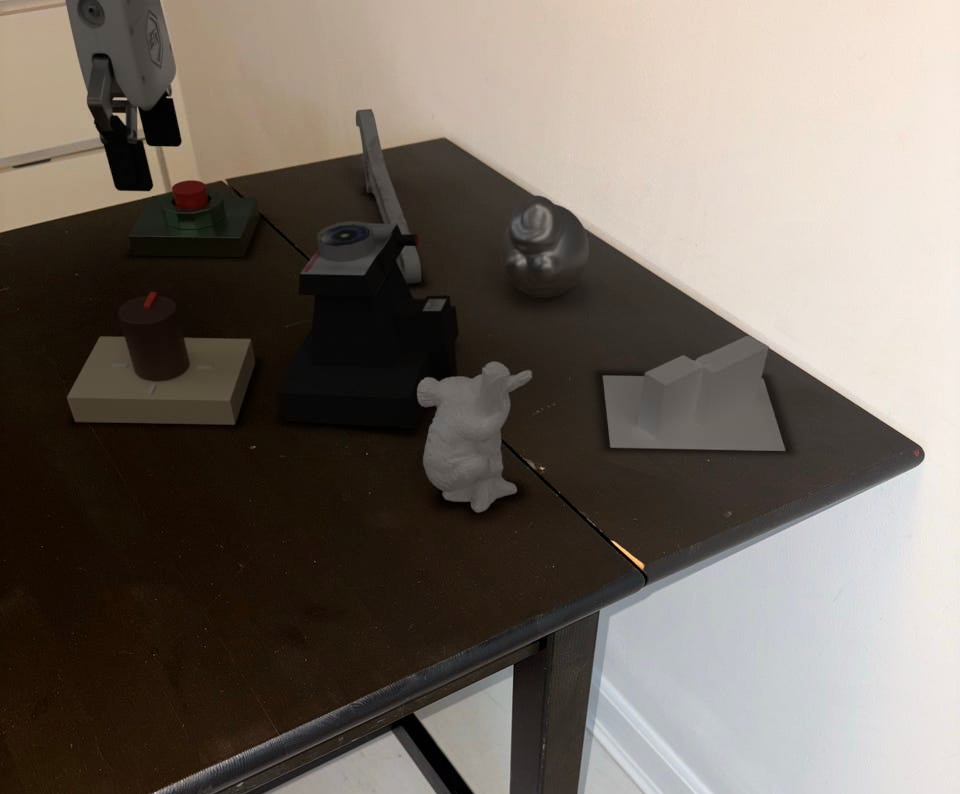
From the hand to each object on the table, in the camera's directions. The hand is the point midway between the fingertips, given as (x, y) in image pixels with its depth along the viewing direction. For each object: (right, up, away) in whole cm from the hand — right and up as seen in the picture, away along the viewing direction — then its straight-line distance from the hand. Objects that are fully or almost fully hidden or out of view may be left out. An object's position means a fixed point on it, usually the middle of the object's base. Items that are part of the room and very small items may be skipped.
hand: (150, 166), depth 88 cm
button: (-2, +5, +20) cm, 21 cm away
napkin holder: (+48, -22, 0) cm, 53 cm away
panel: (+1, -20, +1) cm, 20 cm away
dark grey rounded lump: (+36, -7, +14) cm, 39 cm away
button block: (-2, +3, +22) cm, 23 cm away
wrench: (+19, +5, +24) cm, 31 cm away
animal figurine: (+29, -31, -8) cm, 43 cm away
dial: (+1, -18, -1) cm, 18 cm away
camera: (+21, -19, +2) cm, 29 cm away
